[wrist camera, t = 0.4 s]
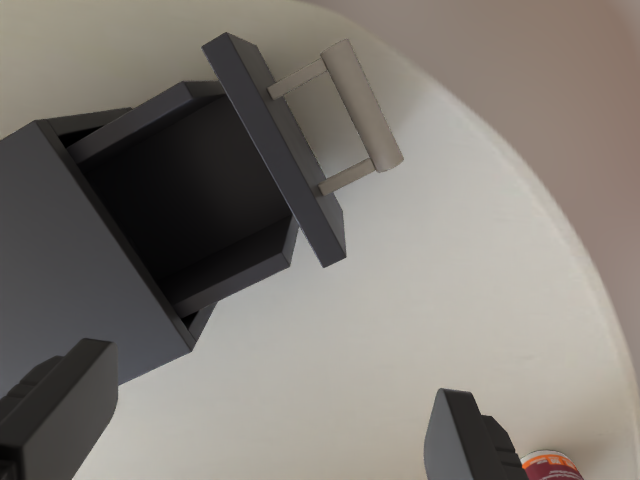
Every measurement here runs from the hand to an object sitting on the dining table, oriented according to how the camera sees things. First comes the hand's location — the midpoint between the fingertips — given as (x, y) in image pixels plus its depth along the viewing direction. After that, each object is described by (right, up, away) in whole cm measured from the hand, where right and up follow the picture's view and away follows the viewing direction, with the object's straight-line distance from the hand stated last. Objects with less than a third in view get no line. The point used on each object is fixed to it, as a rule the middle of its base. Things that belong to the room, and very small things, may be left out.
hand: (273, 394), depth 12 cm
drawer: (-4, +8, +16) cm, 18 cm away
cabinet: (-13, +4, +19) cm, 23 cm away
